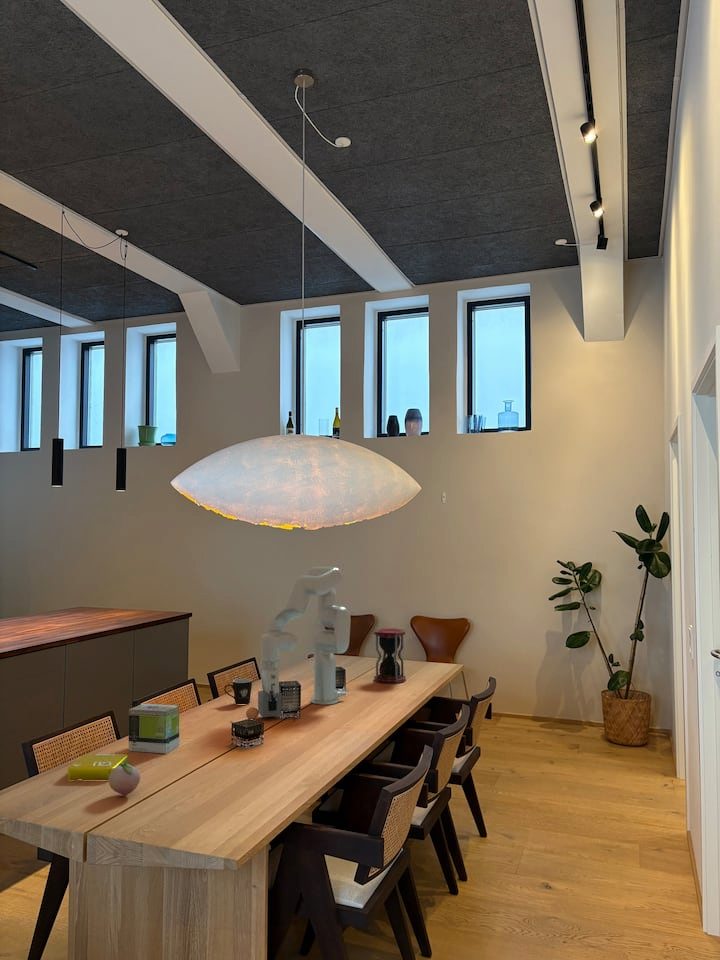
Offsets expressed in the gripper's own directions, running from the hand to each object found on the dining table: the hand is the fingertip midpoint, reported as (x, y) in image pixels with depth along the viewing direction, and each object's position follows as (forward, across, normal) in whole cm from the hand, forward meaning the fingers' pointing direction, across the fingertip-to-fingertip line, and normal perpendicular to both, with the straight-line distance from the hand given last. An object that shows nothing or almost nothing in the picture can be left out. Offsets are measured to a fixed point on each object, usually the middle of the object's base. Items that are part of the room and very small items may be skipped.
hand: (269, 708), depth 308 cm
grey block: (+2, 0, 0) cm, 2 cm away
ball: (+2, 0, +7) cm, 7 cm away
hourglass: (+4, +46, -75) cm, 88 cm away
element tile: (+5, -43, +69) cm, 81 cm away
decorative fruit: (+4, -68, +63) cm, 93 cm away
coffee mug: (+4, +29, +6) cm, 30 cm away
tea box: (+4, -24, +49) cm, 55 cm away
